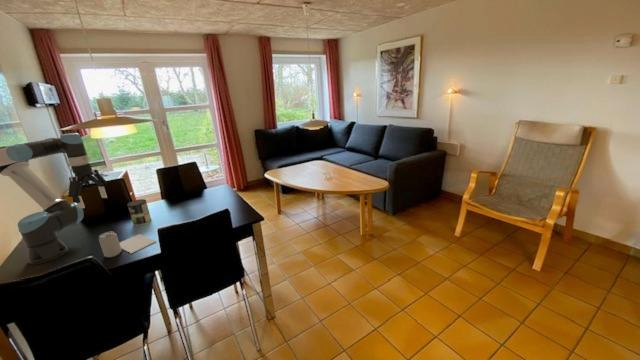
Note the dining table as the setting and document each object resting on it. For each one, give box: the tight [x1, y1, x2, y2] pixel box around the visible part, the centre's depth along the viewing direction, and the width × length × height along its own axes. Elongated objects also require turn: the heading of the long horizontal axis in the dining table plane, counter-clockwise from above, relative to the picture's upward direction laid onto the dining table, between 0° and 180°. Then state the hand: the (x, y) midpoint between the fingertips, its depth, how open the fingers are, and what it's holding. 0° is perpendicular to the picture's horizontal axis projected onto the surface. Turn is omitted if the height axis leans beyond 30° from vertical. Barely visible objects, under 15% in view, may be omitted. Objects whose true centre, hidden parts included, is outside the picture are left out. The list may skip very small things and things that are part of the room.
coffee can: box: [126, 198, 152, 226], centre depth 174 cm, size 10×10×14 cm
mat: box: [119, 233, 157, 255], centre depth 150 cm, size 13×18×1 cm
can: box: [98, 230, 123, 258], centre depth 139 cm, size 8×8×12 cm
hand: (93, 202), depth 143 cm, fingers open, 13 cm apart
